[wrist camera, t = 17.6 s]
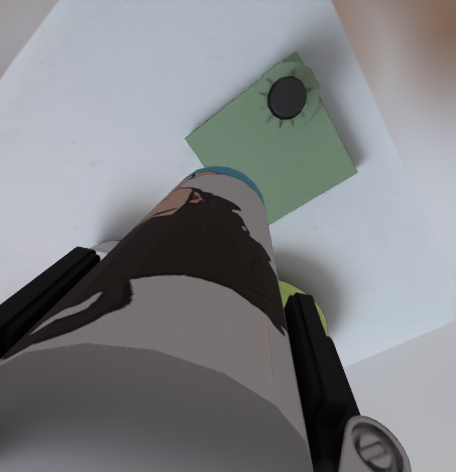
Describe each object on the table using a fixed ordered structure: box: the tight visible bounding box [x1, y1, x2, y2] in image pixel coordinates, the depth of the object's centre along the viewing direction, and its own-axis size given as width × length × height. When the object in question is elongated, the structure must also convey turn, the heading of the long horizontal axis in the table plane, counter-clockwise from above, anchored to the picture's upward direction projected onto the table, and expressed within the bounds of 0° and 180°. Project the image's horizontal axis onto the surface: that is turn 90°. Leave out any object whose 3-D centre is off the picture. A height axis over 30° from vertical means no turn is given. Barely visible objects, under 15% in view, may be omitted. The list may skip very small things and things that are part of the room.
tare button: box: [270, 78, 306, 117], centre depth 25 cm, size 3×3×2 cm
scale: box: [185, 51, 358, 225], centre depth 29 cm, size 14×14×3 cm
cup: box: [0, 166, 313, 472], centre depth 12 cm, size 7×7×15 cm
